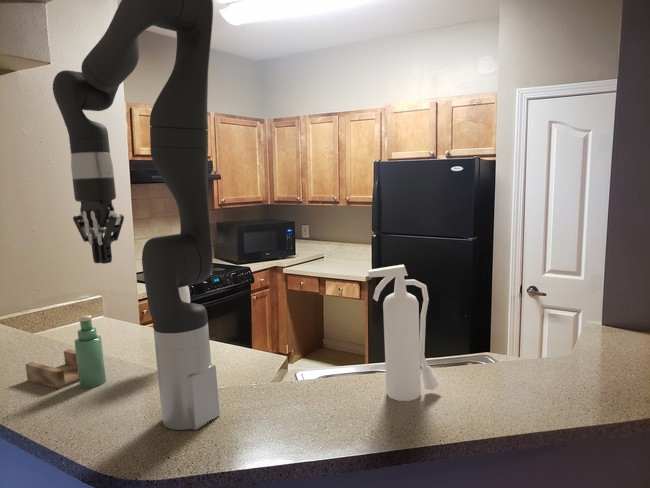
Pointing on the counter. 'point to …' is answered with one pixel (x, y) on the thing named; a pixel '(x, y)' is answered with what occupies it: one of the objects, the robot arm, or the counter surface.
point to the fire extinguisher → (404, 336)
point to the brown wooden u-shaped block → (55, 372)
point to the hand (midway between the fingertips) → (102, 262)
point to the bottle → (89, 355)
